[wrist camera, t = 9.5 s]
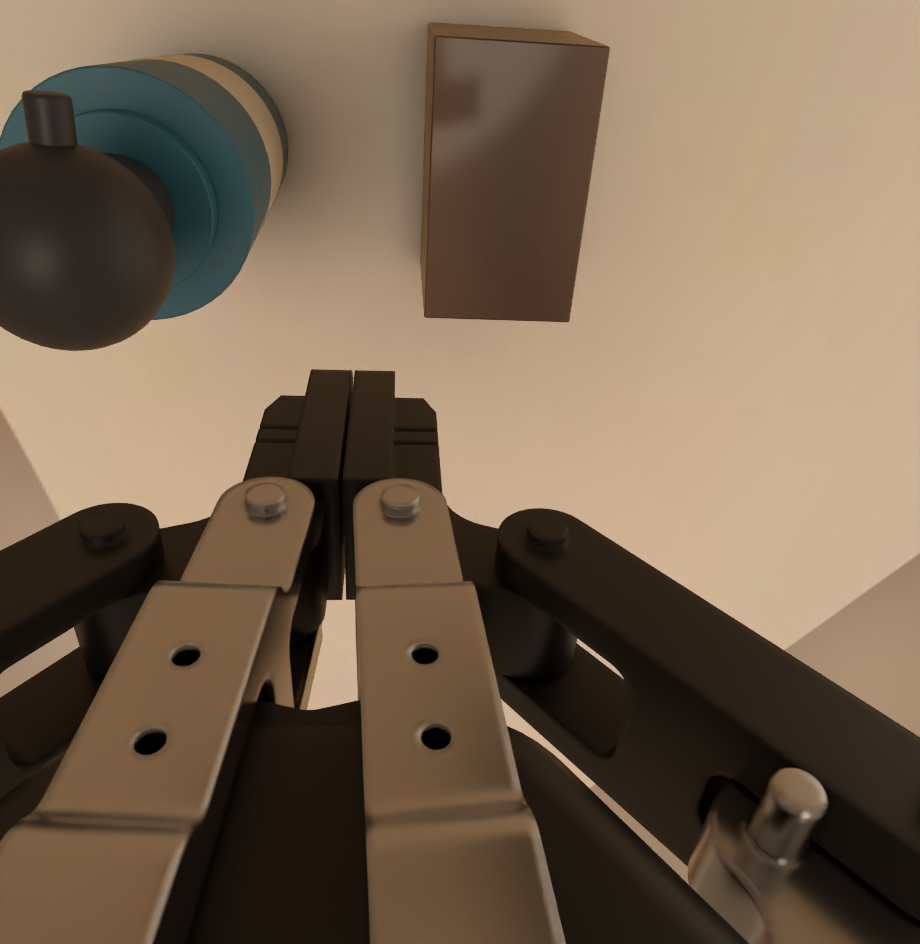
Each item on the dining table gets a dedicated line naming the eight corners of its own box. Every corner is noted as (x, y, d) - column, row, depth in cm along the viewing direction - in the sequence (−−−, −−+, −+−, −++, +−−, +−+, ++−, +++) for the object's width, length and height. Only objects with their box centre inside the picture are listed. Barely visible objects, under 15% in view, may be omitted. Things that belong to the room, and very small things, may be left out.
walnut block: (420, 262, 37) (424, 318, 31) (428, 22, 31) (434, 35, 25) (542, 266, 37) (569, 322, 31) (571, 31, 32) (610, 46, 26)
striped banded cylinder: (209, 208, 37) (-282, 266, 23) (202, 50, 34) (-378, 1, 20) (504, 293, 30) (56, 453, 16) (532, 102, 27) (-5, 85, 12)
